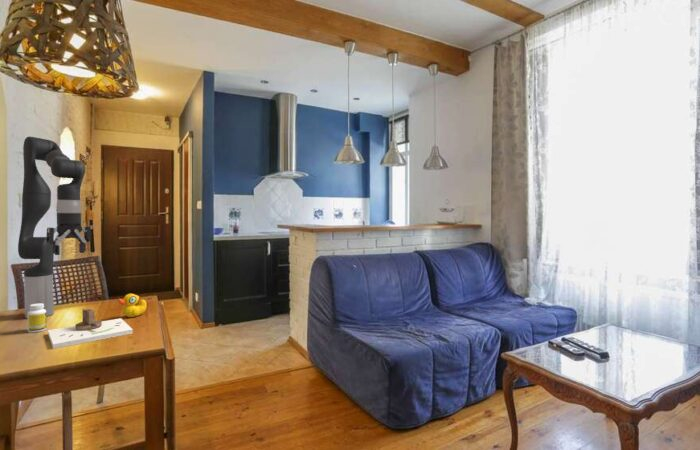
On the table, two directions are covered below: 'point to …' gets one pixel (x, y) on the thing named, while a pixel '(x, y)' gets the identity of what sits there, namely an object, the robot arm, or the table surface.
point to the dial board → (88, 333)
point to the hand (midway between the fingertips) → (69, 253)
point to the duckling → (132, 305)
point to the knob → (88, 321)
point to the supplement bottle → (37, 318)
